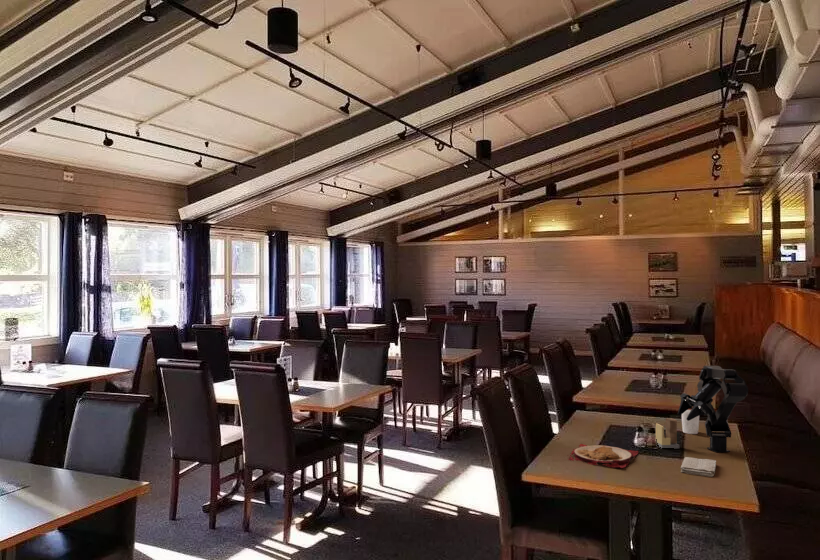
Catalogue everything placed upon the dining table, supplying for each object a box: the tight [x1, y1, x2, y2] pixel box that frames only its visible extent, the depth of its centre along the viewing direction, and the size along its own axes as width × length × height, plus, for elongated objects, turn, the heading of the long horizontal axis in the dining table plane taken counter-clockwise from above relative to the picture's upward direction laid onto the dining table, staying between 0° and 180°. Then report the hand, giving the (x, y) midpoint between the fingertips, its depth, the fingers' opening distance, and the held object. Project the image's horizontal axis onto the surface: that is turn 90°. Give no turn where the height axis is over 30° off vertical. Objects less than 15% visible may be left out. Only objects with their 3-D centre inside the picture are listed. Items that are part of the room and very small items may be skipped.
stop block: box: [665, 417, 678, 444], centre depth 272 cm, size 3×4×10 cm
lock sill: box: [655, 422, 680, 449], centre depth 272 cm, size 8×6×10 cm
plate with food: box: [564, 443, 639, 469], centre depth 256 cm, size 25×26×4 cm
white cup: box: [681, 409, 700, 435], centre depth 298 cm, size 8×8×10 cm
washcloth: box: [680, 456, 717, 478], centre depth 241 cm, size 12×18×3 cm, turn 152°
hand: (682, 417), depth 274 cm, fingers open, 8 cm apart
